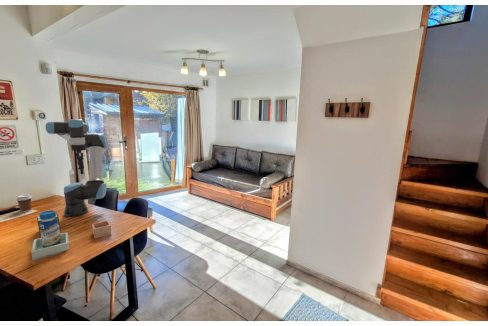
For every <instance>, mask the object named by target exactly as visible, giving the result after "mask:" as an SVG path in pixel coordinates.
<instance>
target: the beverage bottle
mask: <svg viewBox="0 0 488 326" xmlns="http://www.w3.org/2000/svg"><path fill="white" fill-rule="evenodd" d="M56 213H57V212H56V210H45V211H42V212H40V213H39V216H40V220H42V221H41V222H40V225H39V227H40V233H41V236H40V238H41V239H42V245H43V248H46V247H50V246H54V245H58V244H61V238H60V234H61V226H60V227H59V225H58V223H59V224H60V221H59V222H58V220H57V219H56V218H55V217H56ZM59 228H60V230H59ZM40 233H39V234H40Z"/></svg>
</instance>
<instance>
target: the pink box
mask: <svg viewBox="0 0 488 326" xmlns="http://www.w3.org/2000/svg"><path fill="white" fill-rule="evenodd" d="M91 226H92V228H91V229H92V234H93V238H94V239H99V238H103V237H105V236H109V235H110V236H111V235H112V227H111V226H112V225H111V223H110V220H109V219H108V220H103V221H100V222H93V223H92V224H91Z"/></svg>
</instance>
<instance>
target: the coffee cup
mask: <svg viewBox="0 0 488 326" xmlns="http://www.w3.org/2000/svg"><path fill="white" fill-rule="evenodd" d="M32 198H33V196H32V195H30V194H28V193H25V194H20V195H18V196H17V198H16V199H15V201H17V204H18V208H19V211H20V213H21V212H22V213H26V212H29V211H32V210H33V209H32Z"/></svg>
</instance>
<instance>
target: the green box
mask: <svg viewBox="0 0 488 326" xmlns="http://www.w3.org/2000/svg"><path fill="white" fill-rule="evenodd" d="M68 233H69V232H62V233H60V238H61V244H58V245H54V246H50V247H46V248H43V245H42V239H41V237H40V238H35V239H34V240H33V242H32V247H31V258H32V261H37V260H41V259H45V258H49V257H52V256H57V255H59V254H63V252H65V251H69V250H70V246H69V245H70V239H69V234H68Z"/></svg>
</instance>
